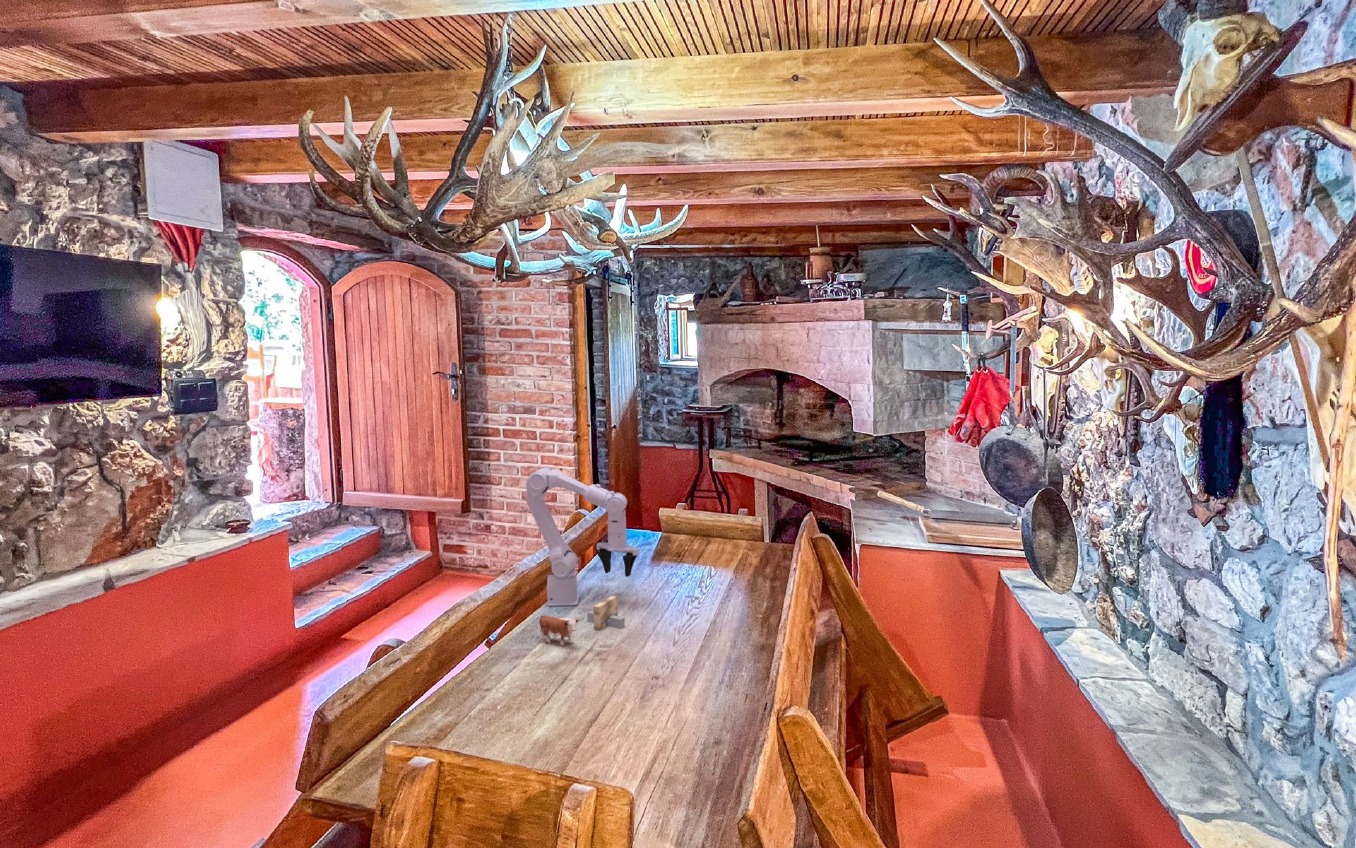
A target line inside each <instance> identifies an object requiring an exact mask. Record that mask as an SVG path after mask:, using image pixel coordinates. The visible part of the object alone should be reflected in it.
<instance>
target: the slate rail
mask: <svg viewBox="0 0 1356 848" xmlns="http://www.w3.org/2000/svg"><path fill="white" fill-rule="evenodd" d="M586 620H587V622H589V623H593V624H594V610H589V611H588V612H587V619H586ZM625 625H626V623H625V617H623V616H614V615H613V616H611V617H610V618H608V619H606V620H605V626H608V627H613V628H617V629H623V628H625Z"/></svg>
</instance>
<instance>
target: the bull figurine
mask: <svg viewBox="0 0 1356 848" xmlns="http://www.w3.org/2000/svg"><path fill="white" fill-rule="evenodd" d="M578 622H579V618H577V619H574V618H570V617H565V618H563V617H562V618H560V617H555V616H549V615H545V614H544V615H541V616H540V617H539V626H540V634H541V636H542V637H543V638H545V641H546V642H547V643H548V644H551V643H552V641H551V638H552V637H551V636H550V633H552V634H554V636H557V635H560V643H559V644H560V646H561V647H564V646H565V643H564V639H565V637H566V638H567V639H568V643H569V644H574V642H573V640H572V638H571V637H572V636H571V635H572V634H573V632H577V630H578V629H577V628H576V623H578Z"/></svg>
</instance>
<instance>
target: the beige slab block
mask: <svg viewBox="0 0 1356 848" xmlns="http://www.w3.org/2000/svg"><path fill="white" fill-rule="evenodd" d="M593 611H594V623H593V630H596V631H601V630H602V629H603V628H606V625H605V620H606V619H608V618H610V617H611V616H613V615H614V616H618V612H619V611H618V596H617V595H611V596H609V597H607V598H605V599H604V600H602V601H600V602H598V603H597V604H595V605H593Z"/></svg>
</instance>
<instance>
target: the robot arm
mask: <svg viewBox="0 0 1356 848" xmlns="http://www.w3.org/2000/svg"><path fill="white" fill-rule="evenodd" d="M525 485H526V491H525V493H526V494H525V502H526V504H527V506H528V508H529V510H530V513H531V515H532V517H533V519H534V521H535V523H536V525H537V527H538V529H539V531H540V534H541V535H542V537H543V541H544V542H545V544H546V546H547V548H548V550H549V561H550V564H551V572H552V574H548V575H547V583H546V591H547V592H546V597H547V606H548V607H549V606H550V607H557V606H560V607H561V606H563V607H564V606H577V605H578V604H579V599H580V595H578V582H577V581H578V580H577V578H578V577H577V575H578V574H577V571H576V567H577V566H578V563H579V557H578V555H577V554H576V553H575V552H574V551H573V550H572V549H571V547H570V545H568V544H567V543H566V542H565V541H564V539H563V537H562V535H561V533H560V530H559V528H558V526H557V524H556V522H555V520H554V518H553V515H552V514H551V512H550V509H549V507H548V505H547V503H546V500H545V497H546V494H547V492H548V491H549V489H555V488H559V487H560V488H563V489H566V490H568V491H571V492H573V493H576V494H579V495H581V496H583V497H584V500H585V501H586V502H588V503H590V504H593V505H595V506H597V507H599V508H601V509H604V510H605V511H606V513H607V542H601V541H600V542H597V543H596V550H598V552H597V556H598V558H599V559H600V561H601V564H602V566H603V570H604V573H605V574H608V573H610V572H611V564H612V563H611V561H612V560H611V559H612V554H613V552H614V553H621V554H624V555H622V560H623V563H624V576H625V577H627V578H628V577H630V576H631V575H632V570H633V566H634V563H635V561H636V559H637V557H638V555H639V547H635V546H632V545H629V544H627V518H626V510H625V509H626V507H627V505H628V499H627V498H626V496H625V495H624V494H622V493H621V492H615V491H614V490H611V491H610V490H608V489H605V488H603V487H601V484H598V483H596V484H593V483H592V484H590V485H587V484H585V483H582V482H581V481H578V480H577V479H575V478H573V477H570V476H568V475H567V474H565V473H563V472H561V471H560V470H559V469H555V468H554V469H553V468H551V467H550V466H542V467H540V468H539V469H537V470H536V471H534V472H532V473H530V474H529V476H528V478H527V480H526V482H525Z"/></svg>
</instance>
